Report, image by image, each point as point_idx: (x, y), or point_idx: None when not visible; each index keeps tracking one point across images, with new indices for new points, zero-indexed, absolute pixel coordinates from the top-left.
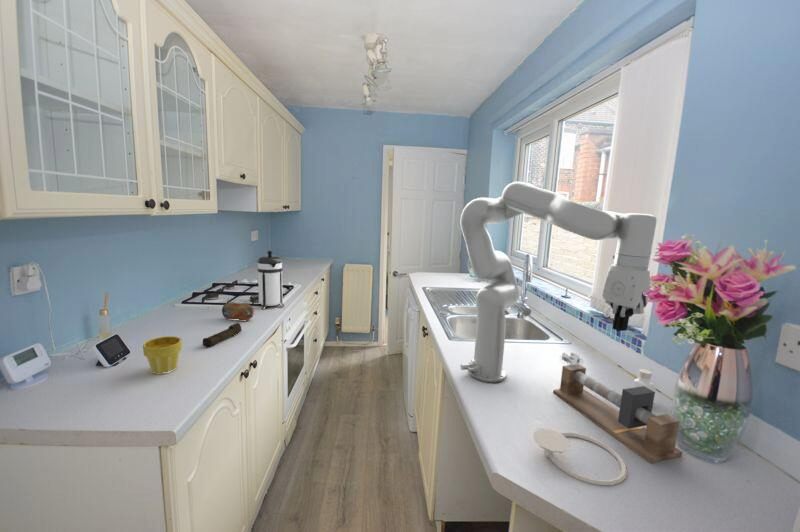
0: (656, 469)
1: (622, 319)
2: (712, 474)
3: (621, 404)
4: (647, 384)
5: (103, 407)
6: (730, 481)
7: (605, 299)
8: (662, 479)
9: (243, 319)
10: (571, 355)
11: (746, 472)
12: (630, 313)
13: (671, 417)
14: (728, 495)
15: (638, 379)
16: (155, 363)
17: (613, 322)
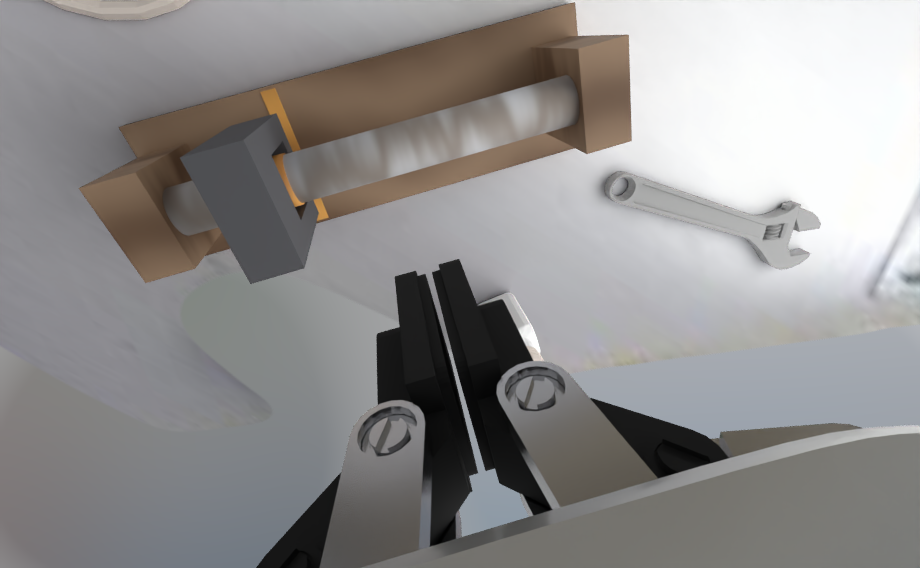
0: (93, 125)
1: (397, 391)
2: (128, 280)
3: (256, 127)
4: None
5: None
6: (109, 305)
7: (861, 436)
8: (36, 110)
9: None
10: (797, 250)
11: (169, 364)
12: (282, 543)
13: (166, 268)
14: (32, 261)
15: (523, 338)
16: None
17: (466, 292)
